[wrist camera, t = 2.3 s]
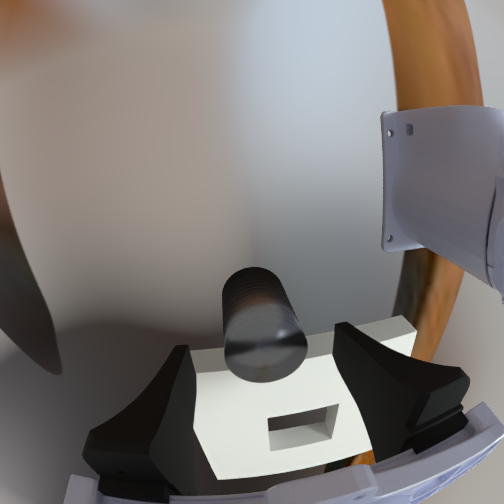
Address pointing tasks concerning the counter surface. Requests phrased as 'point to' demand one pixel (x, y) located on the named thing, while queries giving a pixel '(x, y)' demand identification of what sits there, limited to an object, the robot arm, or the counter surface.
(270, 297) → the pin
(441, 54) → the counter surface
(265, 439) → the socket block
